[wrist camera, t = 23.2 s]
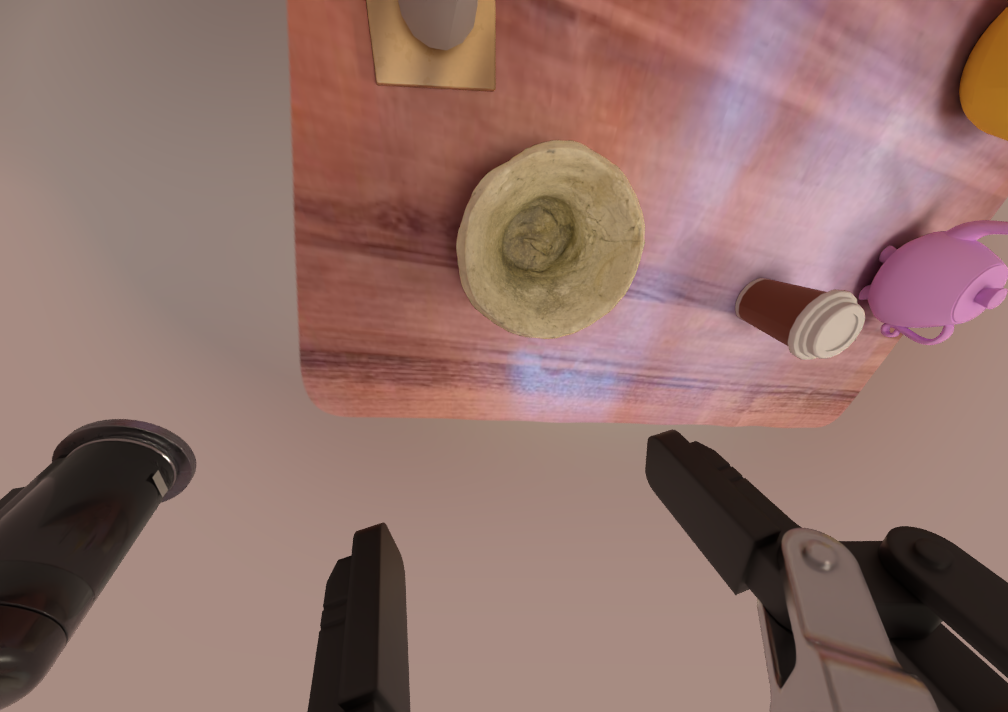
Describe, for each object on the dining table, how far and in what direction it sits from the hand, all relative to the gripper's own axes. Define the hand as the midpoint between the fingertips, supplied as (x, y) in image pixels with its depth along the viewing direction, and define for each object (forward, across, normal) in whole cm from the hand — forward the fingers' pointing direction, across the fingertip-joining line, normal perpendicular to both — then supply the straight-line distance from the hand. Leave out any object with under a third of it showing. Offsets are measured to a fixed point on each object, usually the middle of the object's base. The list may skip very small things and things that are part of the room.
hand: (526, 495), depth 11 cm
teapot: (+32, -70, +17) cm, 79 cm away
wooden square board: (+32, -5, -18) cm, 37 cm away
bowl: (+32, -11, +1) cm, 34 cm away
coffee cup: (+32, -44, +16) cm, 57 cm away
